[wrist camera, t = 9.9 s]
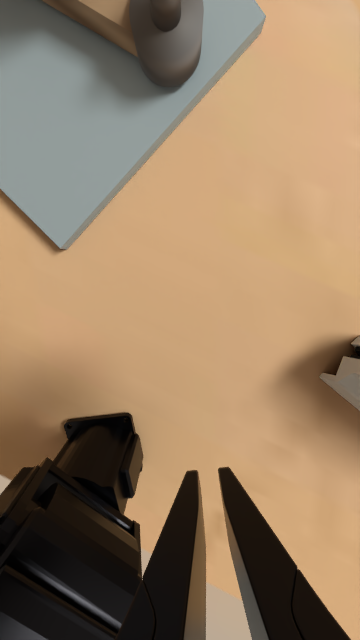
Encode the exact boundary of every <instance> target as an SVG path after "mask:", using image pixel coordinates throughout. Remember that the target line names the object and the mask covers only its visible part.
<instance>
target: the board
mask: <svg viewBox="0 0 360 640" xmlns="http://www.w3.org/2000/svg"><path fill="white" fill-rule="evenodd" d="M203 6H204V16H203V31H202V45H201V55H200V60H199V63H198V66H197V68H196V70H195V72H194V73H193V75H192V76H191V77H190V78H189V79H188V80H187V81H186V82H184V83H183V84H181V85H179V86H176V87H162V86H159V85H157V84H155V83H153V82H152V81H151V80H150V79H149V78H148V77H147V76H146V75H145V73H144V72H143V70H142V68H141V66H140V63H139V60H138V57H136V56H134V55H133V54H131V53H129V52H128V51H126V50H124V49H123V48H121V47H119V46H117V45H116V44H114V43H112V42H111V41H109V40H107V39H106V38H104V37H102V36H101V35H99V34H97V33H96V32H94V31H92V30H90V29H89V28H87V27H85V26H84V25H82V24H80V23H79V22H77V21H75V20H74V19H72V18H70V17H69V16H67V15H65V14H63V13H62V12H60V11H58V10H57V9H55V8H53V7H52V6H50V5H48V4H47V3H45V2H43V1H42V0H0V189H1V190H2V191H3V192H4V193H5V194H6V195H7V196H8V197H9V198H10V199H11V200H12V201H13V202H14V203H15V204H16V205H17V206H18V207H19V208H20V209H21V210H22V211H23V212H24V213H25V214H26V215H27V216H28V217H29V218H30V219H31V220H32V221H33V222H34V223H35V224H36V225H37V226H38V227H39V228H40V229H41V230H42V231H43V232H44V233H45V234H46V235H47V236H48V237H49V238H50V239H51V240H52V241H53V242H54V243H55V244H56V245H57V246H58V247H59V248H60V249H66V250H67V249H68V248H69V247H70V246H71V245H72V243H73V242H74V241H75V240H76V239H77V238H78V237H79V236H80V234H81V233H82V232H83V231H84V230H85V229H86V228H87V227H88V226H89V224H90V223H91V222H92V221H93V220H94V219H95V218H96V217H97V215H98V214H99V213H100V212H101V211H102V210H103V209H104V208H105V207H106V205H107V204H108V203H109V202H110V201H111V200H112V199H113V198H114V196H115V195H116V194H117V193H118V192H119V191H120V190H121V189H122V188H123V186H124V185H125V184H126V183H127V182H128V181H129V180H130V179H131V177H132V176H133V175H134V174H135V173H136V172H137V171H138V170H139V169H140V167H141V166H142V165H143V164H144V163H145V162H146V161H147V160H148V158H149V157H150V156H151V155H152V154H153V153H154V152H155V151H156V150H157V148H158V147H159V146H160V145H161V144H162V143H163V142H164V141H165V139H166V138H167V137H168V136H169V135H170V134H171V133H172V132H173V131H174V129H175V128H176V127H177V126H178V125H179V124H180V123H181V122H182V120H183V119H184V118H185V117H186V116H187V115H188V114H189V113H190V112H191V110H192V109H193V108H194V107H195V106H196V105H197V104H198V103H199V101H200V100H201V99H202V98H203V97H204V96H205V95H206V94H207V93H208V91H209V90H210V89H211V88H212V87H213V86H214V85H215V84H216V82H217V81H218V80H219V79H220V78H221V77H222V76H223V75H224V74H225V72H226V71H227V70H228V69H229V68H230V67H231V66H232V65H233V63H234V62H235V61H236V60H237V59H238V58H239V57H240V56H241V55H242V53H243V52H244V51H245V50H246V49H247V48H248V47H249V46H250V44H251V43H252V42H253V41H254V40H255V39H256V38H257V37H258V36H259V34H260V33H261V31H262V27H263V24H264V21H265V18H266V16H265V14H264V13H263V11H262V10H261V8H260V7H259V6H258V4H257V3H256V1H255V0H203Z"/></svg>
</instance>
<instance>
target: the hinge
mask: <svg viewBox="0 0 360 640" xmlns="http://www.w3.org/2000/svg"><path fill="white" fill-rule="evenodd" d="M351 344H352V345H353V346H354V347H355V349H354V351H356V352H357V353H358V354H359V355H360V336H358V337H357V338H356V339H355V340H354V341H353V342H352V343H351ZM319 378H320V379H322V380H323V381H324V382H325V383H326V384H328V385H329V386H330V387H331V388H332V389H334V390H335V391H336V392H337V393H338V394H340V395H341V396H342V397H343V398H344V399H346V400H347V401H348V402H349V403H350V404H352V405H353V406H354V407H355V408H357V409H358V410H359V411H360V356H356V355H351V356H350V357H345V356H343V358H342V361H341V364H340V366H339V369H338V371H337V374H336V376H335V375H331V374H326V373H322V374H321V375H320V376H319Z"/></svg>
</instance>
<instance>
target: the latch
mask: <svg viewBox="0 0 360 640" xmlns="http://www.w3.org/2000/svg"><path fill="white" fill-rule="evenodd" d="M42 1H43V2H45V3H47V4H48V5H50V6H52V7H53V8H55V9H57V10H58V11H60V12H62V13H63V14H65V15H67V16H69V17H70V18H72V19H74V20H75V21H77V22H79V23H80V24H82V25H84V26H85V27H87V28H89V29H90V30H92V31H94V32H96V33H97V34H99V35H101V36H102V37H104V38H106V39H107V40H109V41H111V42H112V43H114V44H116V45H117V46H119V47H121V48H123V49H124V50H126V51H128V52H129V53H131V54H133V55H134V56H136V57H138V60H139V63H140V66H141V68H142V70H143V72H144V73H145V75H146V76H147V77H148V78H149V79H150V80H151V81H152V82H153V83H155V84H157V85H159V86H162V87H176V86H179V85H181V84H183V83H184V82H186V81H187V80H188V79H189V78H190V77H191V76H192V75H193V73H194V72H195V70H196V68H197V66H198V63H199V60H200V55H201V45H202V31H203V16H204V6H203V0H42Z"/></svg>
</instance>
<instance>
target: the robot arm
mask: <svg viewBox="0 0 360 640" xmlns="http://www.w3.org/2000/svg"><path fill="white" fill-rule="evenodd" d="M125 418H127V419H128V420H126V419H125ZM69 424H70V425H72V426H70V425H69ZM64 428H65V431H66V434H67V438H68V440H67V442H66V443H65V445H64V446H63V448H62V449H61V451H60V452H59V453H58V455H57V456H56V458H55V459H54V461H52V460H50V459H49V458H46V459H45V460H44V461H43V462H42V463H41V464H40V465H39V466H38V465H37V466H36V467H35V466H34V467H23V468H22V469H21V471H20V472H19V473H18V474H17V475H16V476H15V477H14V479H13V480H12V481H11V482H10V484H9V485H8V486H7V487H6V488H5V490H4V491H3V492H2V493H1V495H0V640H206V543H205V530H204V519H203V508H202V496H201V487H200V481H199V474H198V471H197V470H191V471H187V472H186V474H185V476H184V479H183V481H182V484H181V486H180V488H179V491H178V493H177V496H176V498H175V500H174V503H173V505H172V508H171V510H170V512H169V515H168V517H167V520H166V522H165V524H164V527H163V529H162V532H161V534H160V536H159V539H158V541H157V544H156V546H155V548H154V551H153V553H152V556H151V558H150V560H149V563H148V565H147V568H146V570H145V572H144V575H143V578H142V569H141V544H140V525H139V524H138V523H137V522H136V521H134V520H133V521H131V520H130V519H129V518H127V517H126V516H124V512H125V508H126V504H127V500H128V498H133V496H134V495H135V491H136V487H137V482H138V478H139V474H140V472H141V471H142V467H143V464H142V460H143V452H142V448H141V443H140V438H139V435H138V434H137V433H136V432H135V427H134V423H133V418H132V415H131V414H129V413H122V414H113V415H104V416H96V417H87V418H78V419H70V420H68V421H67V422H66V423H65V425H64ZM218 473H219V481H220V488H221V495H222V502H223V508H224V515H225V522H226V528H227V535H228V541H229V546H230V551H231V555H232V560H233V564H234V568H235V572H236V576H237V580H238V584H239V588H240V592H241V596H242V600H243V604H244V608H245V612H246V617H247V620H248V625H249V629H250V633H251V637H252V640H351V639H350V638H349V637H348V635H347V634H346V633H345V631H344V630H343V629H342V628H341V626H340V625H339V624H338V622H337V621H336V620H335V619H334V617H333V616H332V615H331V613H330V612H329V611H328V609H327V608H326V607H325V605H324V604H323V602H322V601H321V600H320V598H319V597H318V595H317V594H316V593H315V591H314V590H313V588H312V587H311V586H310V584H309V583H308V581H307V580H306V578H305V577H304V575H303V574H302V572H301V571H300V570H299V569H297V565H296V564H295V563H294V561H293V560H292V558H291V557H290V555H289V554H288V552H287V551H286V549H285V548H284V546H283V545H282V544H281V542H280V541H279V539H278V538H277V536H276V535H275V533H274V532H273V530H272V529H271V527H270V526H269V525H268V523H267V522H266V520H265V519H264V517H263V516H262V514H261V513H260V511H259V510H258V508H257V507H256V506H255V504H254V503H253V501H252V500H251V498H250V497H249V495H248V494H247V492H246V491H245V490H244V488H243V487H242V485H241V484H240V482H239V481H238V479H237V478H236V476H235V475H234V473H233V472H232V471H231V469H230V468H229V467H222V468H219V469H218ZM142 579H143V580H142Z"/></svg>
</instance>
